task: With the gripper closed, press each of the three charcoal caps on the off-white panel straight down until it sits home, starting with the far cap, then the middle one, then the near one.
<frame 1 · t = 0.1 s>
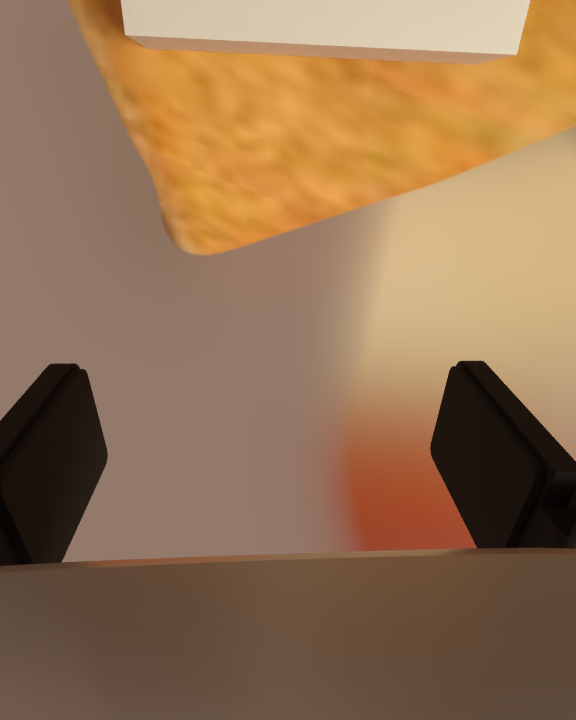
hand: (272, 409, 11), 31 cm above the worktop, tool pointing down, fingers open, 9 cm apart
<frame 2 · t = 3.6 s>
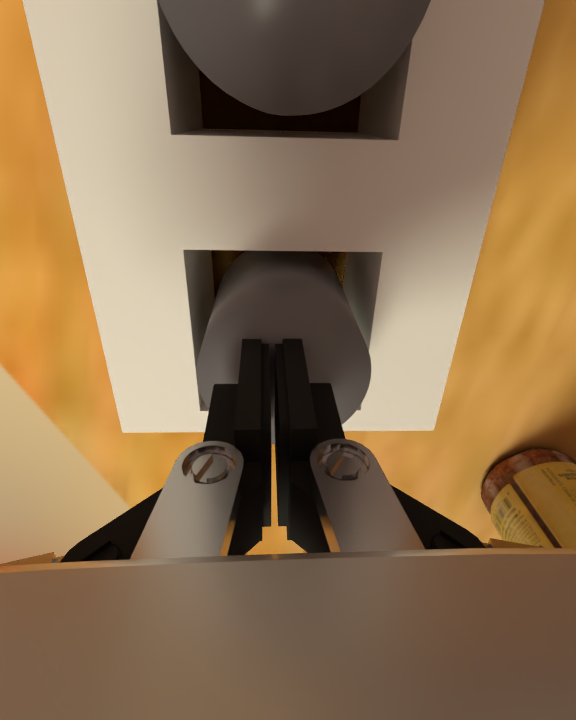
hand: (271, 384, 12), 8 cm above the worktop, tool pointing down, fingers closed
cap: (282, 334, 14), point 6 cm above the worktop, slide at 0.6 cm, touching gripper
button panel: (282, 33, 15), on the worktop
sauce bottle: (525, 474, 27), on the worktop
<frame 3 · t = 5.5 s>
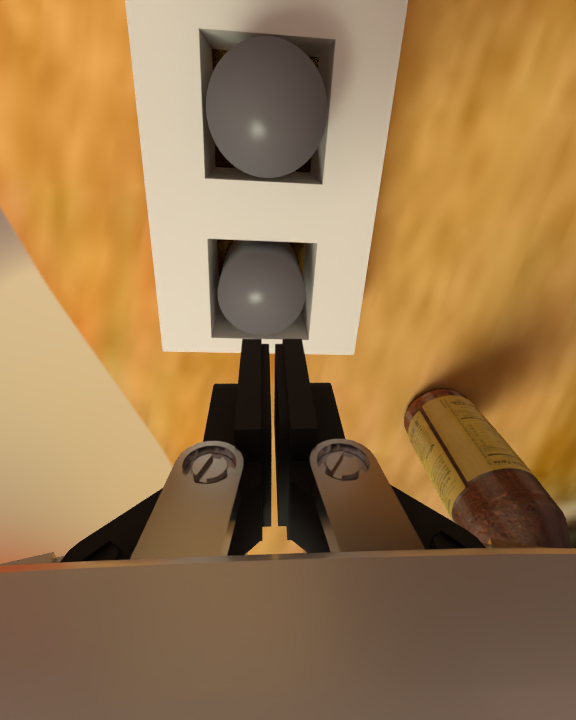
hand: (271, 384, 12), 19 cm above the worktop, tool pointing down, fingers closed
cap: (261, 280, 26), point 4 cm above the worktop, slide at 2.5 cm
middle cap: (266, 113, 19), point 6 cm above the worktop, slide at 0.0 cm
button panel: (264, 114, 25), on the worktop
sauce bottle: (436, 410, 37), on the worktop
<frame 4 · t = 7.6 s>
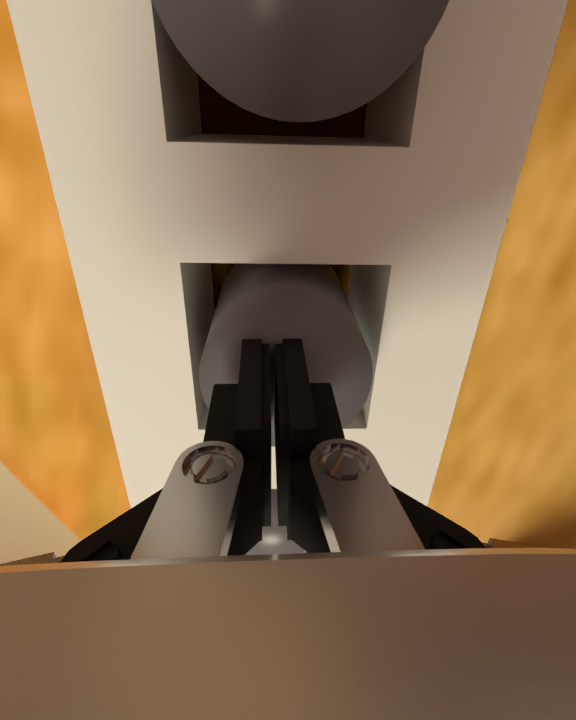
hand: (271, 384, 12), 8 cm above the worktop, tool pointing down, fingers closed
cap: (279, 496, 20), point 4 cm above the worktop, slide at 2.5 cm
middle cap: (283, 337, 14), point 5 cm above the worktop, slide at 1.5 cm, touching gripper
button panel: (280, 289, 18), on the worktop
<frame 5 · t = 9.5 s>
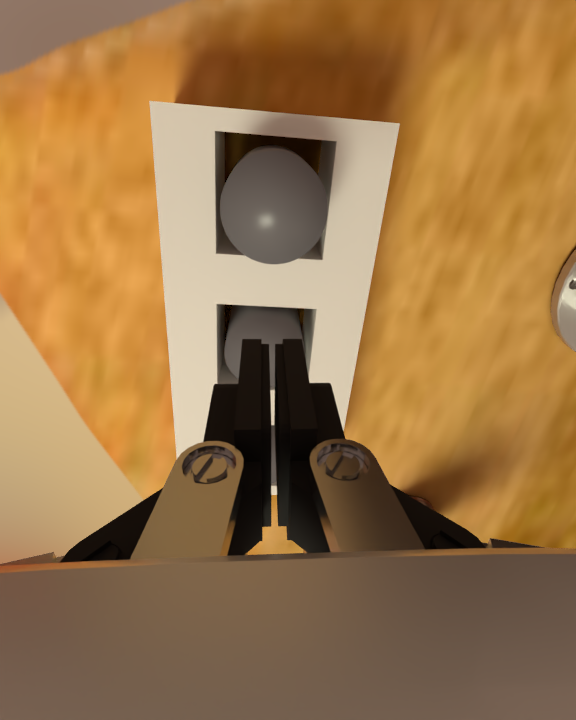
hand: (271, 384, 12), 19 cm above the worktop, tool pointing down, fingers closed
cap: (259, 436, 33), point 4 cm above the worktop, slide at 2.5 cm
middle cap: (264, 334, 28), point 4 cm above the worktop, slide at 2.5 cm
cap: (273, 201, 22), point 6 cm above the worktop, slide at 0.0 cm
button panel: (264, 312, 31), on the worktop
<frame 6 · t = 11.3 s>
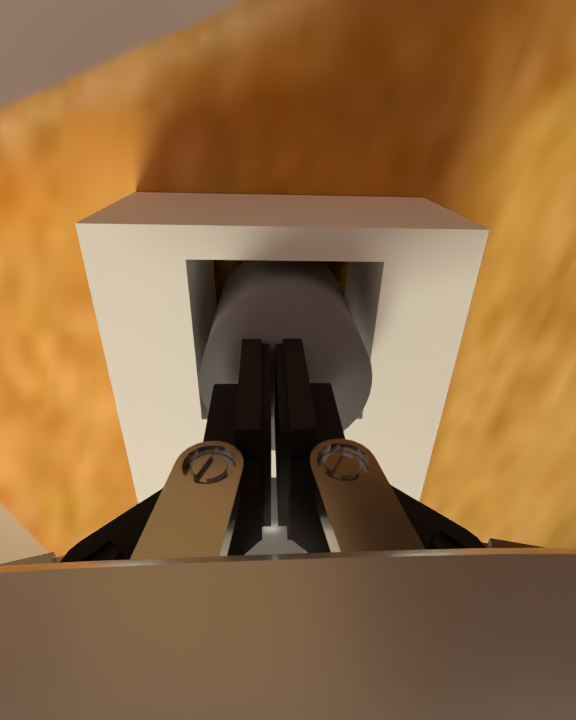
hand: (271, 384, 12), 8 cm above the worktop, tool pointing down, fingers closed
middle cap: (279, 487, 20), point 4 cm above the worktop, slide at 2.5 cm
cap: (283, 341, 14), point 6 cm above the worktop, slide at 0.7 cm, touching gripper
button panel: (278, 437, 24), on the worktop
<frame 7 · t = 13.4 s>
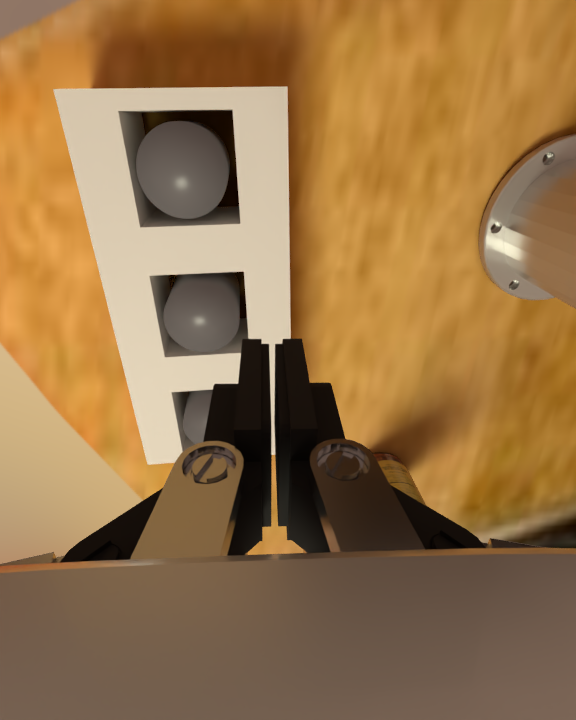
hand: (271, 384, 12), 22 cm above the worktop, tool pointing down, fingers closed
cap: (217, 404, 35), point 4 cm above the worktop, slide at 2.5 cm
middle cap: (205, 303, 30), point 4 cm above the worktop, slide at 2.5 cm
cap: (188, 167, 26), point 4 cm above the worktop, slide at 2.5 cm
button panel: (208, 285, 33), on the worktop
sauce bottle: (377, 468, 46), on the worktop
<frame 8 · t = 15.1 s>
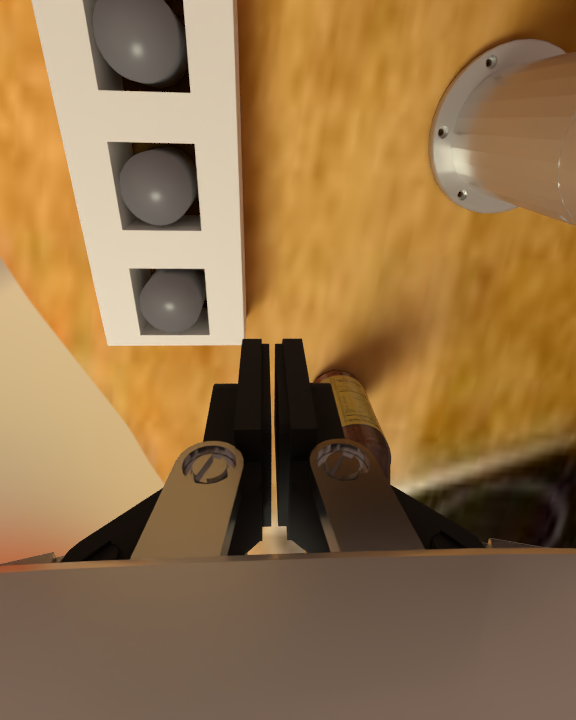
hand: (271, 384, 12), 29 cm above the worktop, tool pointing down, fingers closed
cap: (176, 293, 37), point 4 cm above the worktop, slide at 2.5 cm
middle cap: (163, 184, 32), point 4 cm above the worktop, slide at 2.5 cm
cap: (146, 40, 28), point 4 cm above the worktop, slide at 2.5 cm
button panel: (172, 178, 36), on the worktop
sauce bottle: (335, 388, 48), on the worktop
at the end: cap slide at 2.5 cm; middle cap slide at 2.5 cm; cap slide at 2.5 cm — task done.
